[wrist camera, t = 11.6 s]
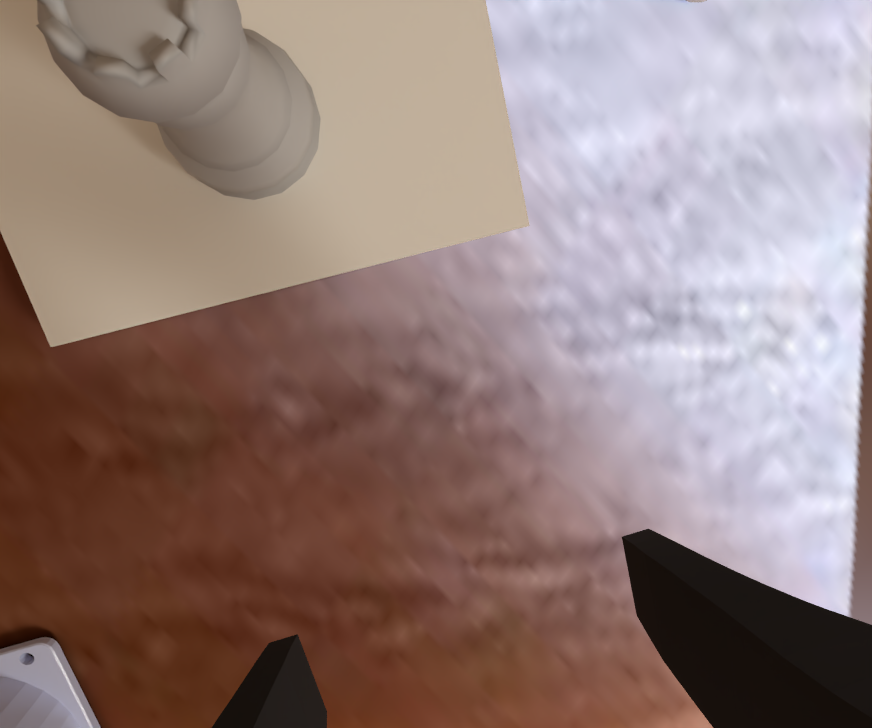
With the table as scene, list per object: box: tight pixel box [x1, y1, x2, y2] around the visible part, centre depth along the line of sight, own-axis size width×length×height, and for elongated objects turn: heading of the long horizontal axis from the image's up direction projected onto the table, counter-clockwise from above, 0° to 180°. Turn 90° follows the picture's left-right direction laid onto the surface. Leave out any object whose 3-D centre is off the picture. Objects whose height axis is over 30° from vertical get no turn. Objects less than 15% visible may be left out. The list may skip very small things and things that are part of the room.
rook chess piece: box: [36, 0, 321, 200], centre depth 11 cm, size 4×4×8 cm
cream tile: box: [0, 0, 529, 347], centre depth 16 cm, size 16×11×2 cm
